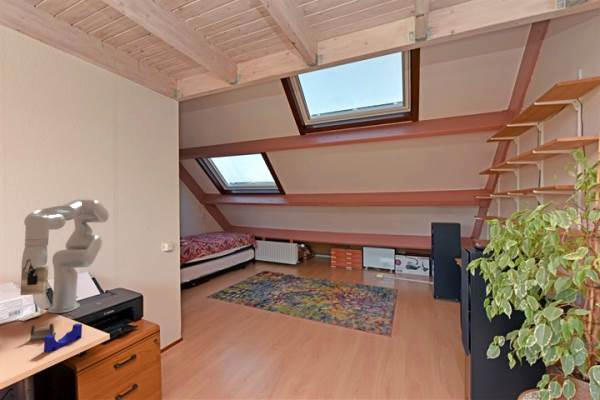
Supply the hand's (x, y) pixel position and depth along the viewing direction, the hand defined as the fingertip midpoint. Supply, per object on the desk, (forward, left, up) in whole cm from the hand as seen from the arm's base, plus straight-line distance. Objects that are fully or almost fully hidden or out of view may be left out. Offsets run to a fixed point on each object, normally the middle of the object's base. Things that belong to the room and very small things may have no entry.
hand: (34, 283), depth 119 cm
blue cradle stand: (+17, +18, -22) cm, 32 cm away
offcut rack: (+9, +8, -21) cm, 24 cm away
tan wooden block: (0, 0, -5) cm, 5 cm away
